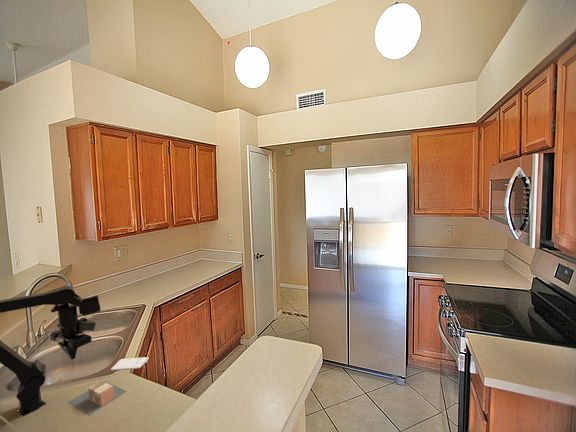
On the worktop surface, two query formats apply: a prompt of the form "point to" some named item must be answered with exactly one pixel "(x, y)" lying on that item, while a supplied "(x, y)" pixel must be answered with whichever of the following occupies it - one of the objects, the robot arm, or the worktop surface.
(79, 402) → the mat
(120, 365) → the external hard drive
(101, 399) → the block
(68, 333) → the robot arm
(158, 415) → the worktop surface
